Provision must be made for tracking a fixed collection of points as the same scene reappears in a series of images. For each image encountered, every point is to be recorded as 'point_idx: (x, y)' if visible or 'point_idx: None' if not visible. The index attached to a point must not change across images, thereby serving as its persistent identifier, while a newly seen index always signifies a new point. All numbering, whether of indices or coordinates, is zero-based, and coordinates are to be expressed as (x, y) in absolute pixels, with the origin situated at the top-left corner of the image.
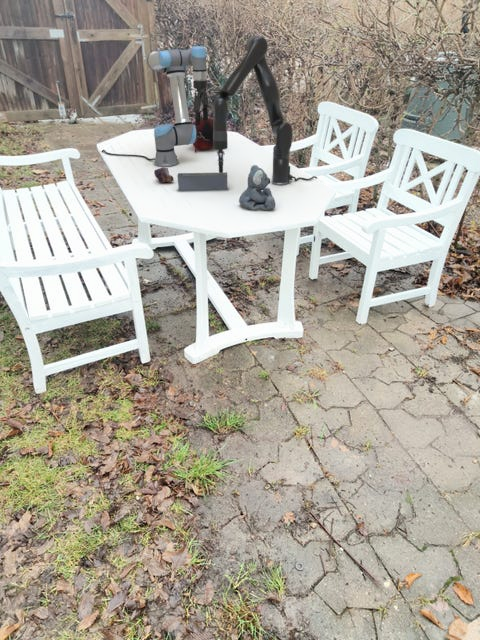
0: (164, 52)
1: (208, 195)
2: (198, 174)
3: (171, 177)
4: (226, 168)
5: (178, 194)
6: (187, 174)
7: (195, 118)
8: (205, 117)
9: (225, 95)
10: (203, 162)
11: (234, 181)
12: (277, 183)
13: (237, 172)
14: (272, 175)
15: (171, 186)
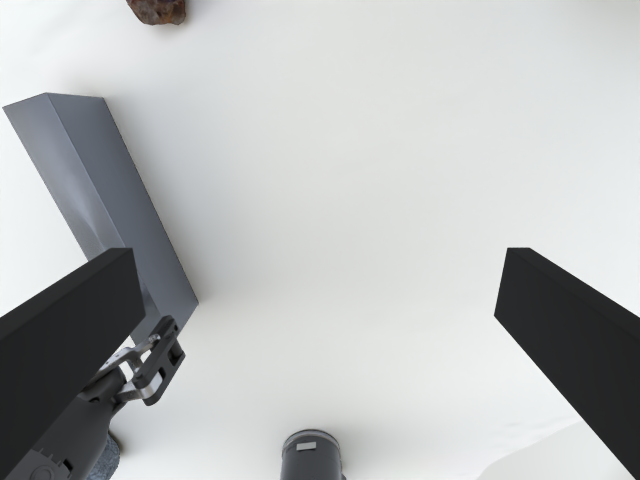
0: None
1: (79, 258)
2: (80, 221)
3: (138, 15)
4: (474, 230)
5: None
6: (51, 160)
7: (34, 297)
8: (520, 305)
9: None
10: (590, 70)
11: (285, 309)
12: (282, 452)
13: (414, 292)
14: (302, 454)
15: (119, 38)
